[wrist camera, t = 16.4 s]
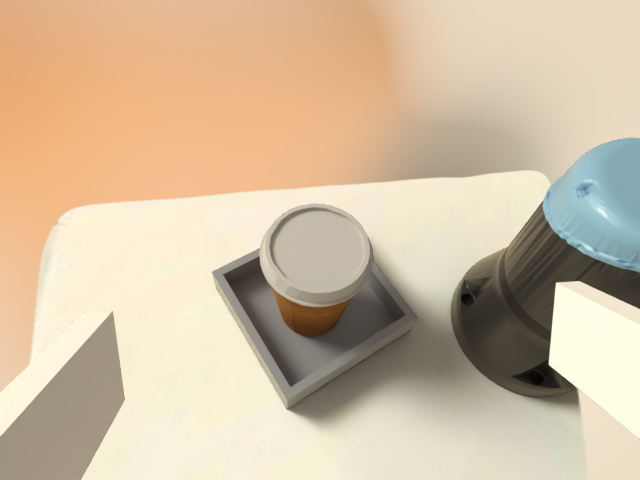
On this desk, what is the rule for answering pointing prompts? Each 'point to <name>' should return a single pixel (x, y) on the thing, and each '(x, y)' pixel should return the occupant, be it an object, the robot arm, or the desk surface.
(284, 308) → the disposable coffee cup
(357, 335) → the charcoal tray
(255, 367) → the desk surface
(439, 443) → the desk surface
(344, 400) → the desk surface
